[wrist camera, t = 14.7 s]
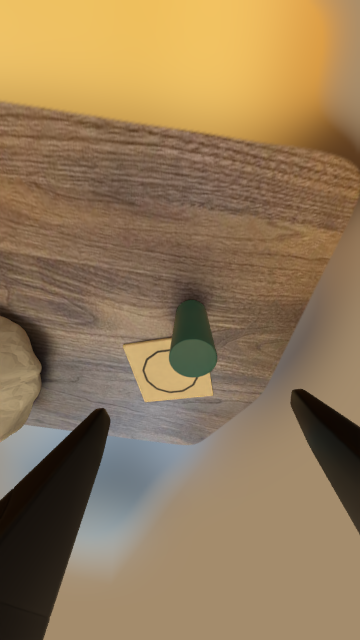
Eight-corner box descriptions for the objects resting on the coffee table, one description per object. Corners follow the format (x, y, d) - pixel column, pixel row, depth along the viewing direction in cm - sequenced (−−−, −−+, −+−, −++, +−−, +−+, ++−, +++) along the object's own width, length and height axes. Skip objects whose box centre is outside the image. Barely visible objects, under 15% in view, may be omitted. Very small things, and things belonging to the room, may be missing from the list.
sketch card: (212, 393, 24) (213, 395, 24) (145, 399, 25) (144, 402, 25) (203, 332, 20) (203, 334, 20) (123, 344, 21) (122, 346, 21)
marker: (207, 321, 19) (219, 375, 12) (179, 325, 20) (174, 380, 12) (203, 294, 18) (214, 335, 10) (174, 299, 18) (163, 342, 11)
